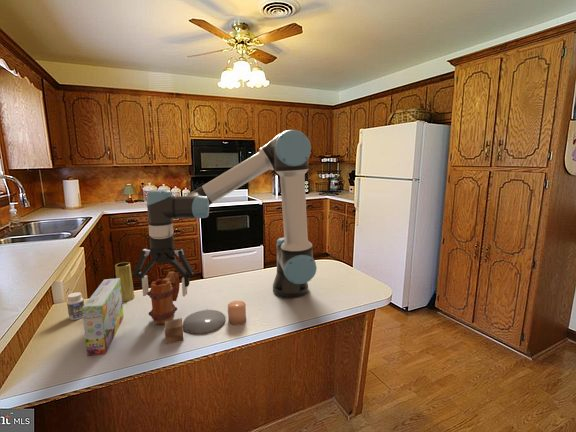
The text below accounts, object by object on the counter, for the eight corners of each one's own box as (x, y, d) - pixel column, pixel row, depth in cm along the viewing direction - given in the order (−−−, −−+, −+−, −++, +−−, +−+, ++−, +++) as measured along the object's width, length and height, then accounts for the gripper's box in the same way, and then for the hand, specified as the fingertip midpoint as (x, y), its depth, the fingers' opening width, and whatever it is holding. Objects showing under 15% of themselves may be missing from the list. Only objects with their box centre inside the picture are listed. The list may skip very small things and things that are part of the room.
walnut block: (183, 332, 97) (182, 318, 96) (183, 340, 93) (182, 326, 92) (166, 335, 96) (165, 321, 95) (166, 344, 91) (164, 329, 90)
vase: (118, 303, 116) (114, 268, 113) (117, 297, 121) (113, 263, 119) (135, 299, 119) (132, 265, 117) (133, 293, 125) (130, 260, 122)
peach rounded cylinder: (246, 316, 107) (246, 300, 106) (244, 325, 101) (244, 309, 100) (230, 316, 107) (229, 300, 106) (226, 325, 101) (226, 309, 100)
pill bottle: (75, 321, 104) (72, 298, 102) (66, 318, 105) (62, 296, 104) (88, 314, 108) (85, 292, 106) (79, 312, 110) (76, 290, 108)
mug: (166, 328, 99) (162, 286, 96) (144, 326, 101) (140, 284, 98) (189, 307, 113) (186, 269, 110) (169, 305, 115) (166, 268, 112)
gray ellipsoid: (228, 311, 110) (228, 309, 110) (220, 333, 96) (220, 331, 96) (190, 311, 110) (190, 309, 110) (177, 334, 96) (176, 331, 96)
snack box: (108, 353, 87) (102, 305, 84) (86, 357, 85) (79, 308, 82) (125, 316, 107) (120, 276, 104) (107, 319, 105) (102, 278, 102)
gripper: (201, 233, 105) (203, 290, 109) (129, 232, 105) (134, 289, 109) (195, 239, 98) (198, 299, 102) (118, 238, 97) (123, 299, 101)
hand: (165, 294), depth 105 cm, fingers open, 13 cm apart
